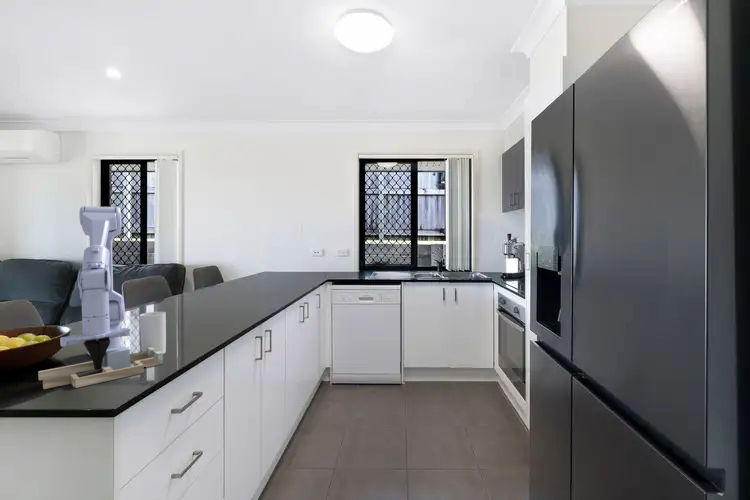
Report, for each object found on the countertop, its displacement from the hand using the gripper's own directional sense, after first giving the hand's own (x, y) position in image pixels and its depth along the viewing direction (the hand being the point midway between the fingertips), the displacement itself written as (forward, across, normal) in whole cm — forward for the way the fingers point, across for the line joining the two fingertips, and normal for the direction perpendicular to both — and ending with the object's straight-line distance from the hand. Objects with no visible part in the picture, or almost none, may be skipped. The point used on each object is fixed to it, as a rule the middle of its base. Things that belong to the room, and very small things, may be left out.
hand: (97, 368), depth 103 cm
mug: (+1, +16, +10) cm, 19 cm away
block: (+1, +4, 0) cm, 4 cm away
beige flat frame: (+1, +1, -2) cm, 3 cm away
